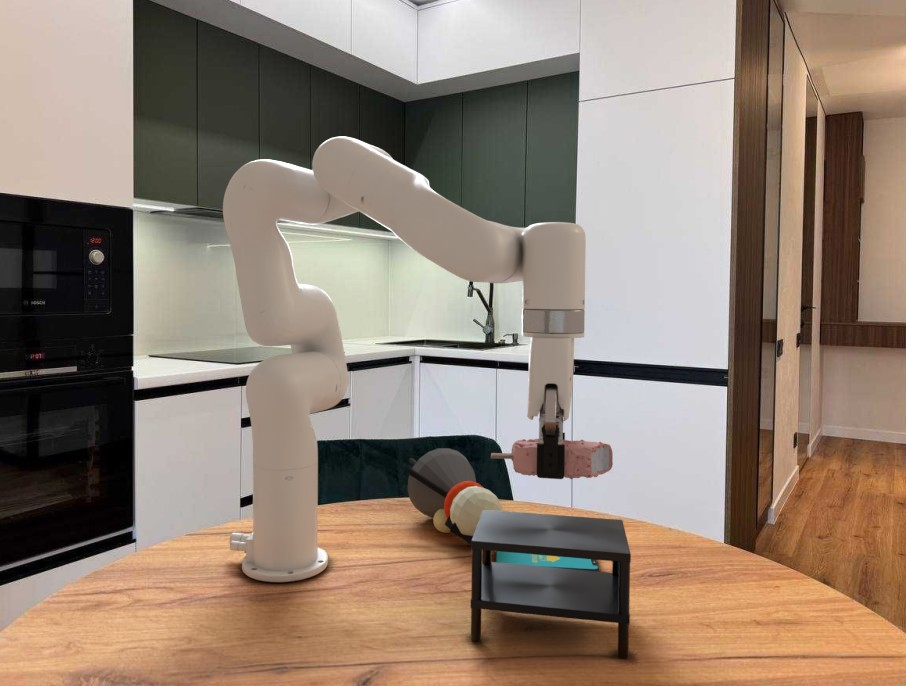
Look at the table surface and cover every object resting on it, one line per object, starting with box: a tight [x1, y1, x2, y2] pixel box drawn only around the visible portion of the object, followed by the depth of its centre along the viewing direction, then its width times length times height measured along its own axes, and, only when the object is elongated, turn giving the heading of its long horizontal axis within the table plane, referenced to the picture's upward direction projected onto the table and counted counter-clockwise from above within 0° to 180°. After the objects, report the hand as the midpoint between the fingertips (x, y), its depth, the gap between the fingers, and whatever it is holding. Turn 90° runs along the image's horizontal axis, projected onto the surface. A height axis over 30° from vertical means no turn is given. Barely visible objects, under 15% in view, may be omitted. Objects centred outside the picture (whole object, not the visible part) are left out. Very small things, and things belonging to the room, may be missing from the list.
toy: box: [406, 447, 503, 546], centre depth 122 cm, size 17×13×30 cm
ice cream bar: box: [490, 438, 614, 480], centre depth 85 cm, size 6×4×15 cm
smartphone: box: [495, 551, 600, 572], centre depth 106 cm, size 7×1×15 cm
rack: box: [470, 510, 632, 660], centre depth 86 cm, size 18×12×12 cm, turn 78°
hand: (551, 469), depth 85 cm, fingers closed on ice cream bar, 6 cm apart
